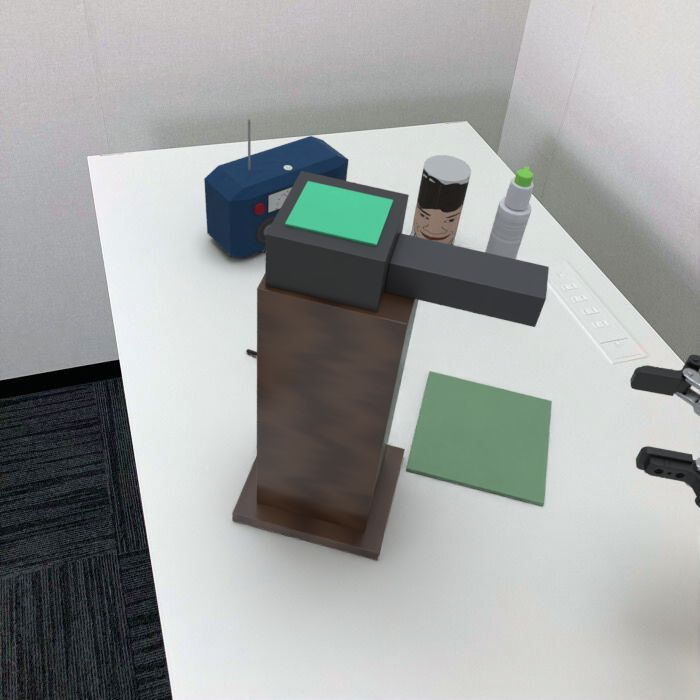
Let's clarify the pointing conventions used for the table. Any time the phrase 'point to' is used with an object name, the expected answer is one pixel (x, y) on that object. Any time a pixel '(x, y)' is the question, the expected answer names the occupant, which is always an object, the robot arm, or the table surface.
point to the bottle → (512, 216)
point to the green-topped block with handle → (387, 256)
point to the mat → (482, 438)
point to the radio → (261, 190)
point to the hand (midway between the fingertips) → (635, 415)
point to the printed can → (441, 198)
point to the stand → (326, 418)
